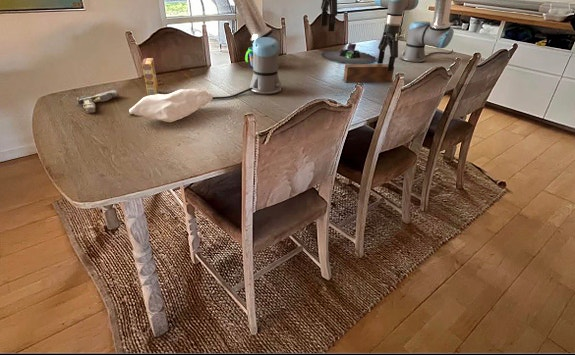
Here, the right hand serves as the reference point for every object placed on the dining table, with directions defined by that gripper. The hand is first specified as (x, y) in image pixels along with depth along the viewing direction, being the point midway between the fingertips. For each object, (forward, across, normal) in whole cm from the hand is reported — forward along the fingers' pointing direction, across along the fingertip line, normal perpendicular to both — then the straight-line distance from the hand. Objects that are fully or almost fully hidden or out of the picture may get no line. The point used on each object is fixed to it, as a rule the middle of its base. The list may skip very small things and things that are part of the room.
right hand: (384, 67), depth 194 cm
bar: (+8, 0, +8) cm, 11 cm away
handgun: (+9, -24, +137) cm, 140 cm away
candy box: (+9, -14, +117) cm, 119 cm away
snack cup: (+8, +29, +65) cm, 72 cm away
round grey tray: (+7, +48, +4) cm, 49 cm away
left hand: (-20, -4, +35) cm, 40 cm away
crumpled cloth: (+9, -38, +107) cm, 113 cm away
